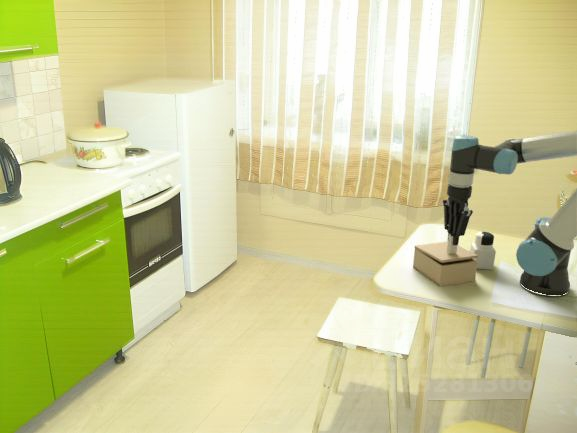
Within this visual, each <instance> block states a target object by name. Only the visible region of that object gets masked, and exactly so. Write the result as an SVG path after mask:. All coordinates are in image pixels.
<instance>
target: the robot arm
mask: <svg viewBox="0 0 577 433" xmlns="http://www.w3.org/2000/svg"><path fill="white" fill-rule="evenodd" d="M450 155H451V156H450V167H449V172H448V173H449V174H448V179H447V180H448V184H447V190H446V191H447V192H446V194H447V199H443V200H442V204H443V217H444V218H443V219H444V220H443V224H444V230H446V231H447V233H448V234H447V241H448V246H447V253H448V254H455V253H457V245H458V246H459V240H460V237H461V236H462V237H463V236H465V234H466V231H467V228H468V224H469V221H470V217H471V216H472V215H473V214H474V211H473V210H472V209H470V208H469V207H468V206H469V199H470V198H471V197H472V193H473V192H472V191H473V184H474V182H473V181H474V174H475V170H479V171H483V172H484V171H486V172H488V173H489V172H490V173H494V174H499V175H512V174H513V173H514V172H515V170H516V168H517V165H518V164H524V163H525V164H526V163H531V162H538V161H546V160H547V161H548V160H555V159H563V158H571V157H577V130H572V131H565V132H558V133H552V134H545V135H538V136H534V137H526V138H520V139H519V138H518V139H516V138H512V139H507V140H505V141H503V142H501V143H499V144H498V145H495V146H488V145H482V144H480V142H479V138H478V137H477V136H474V135H466V134H465V135H463V134H462V135H461V134H460V135H457V136H455V137H454V138H453V142H452V147H451V154H450ZM576 238H577V188H576V189H575V190H574V191H573V193H572V194H570V196H569V198H567V199H566V201H564V203H563V204H562V205H561V207H560V208H559V209H558V210H557V211H556V212H555V213H554V214H553V216H552V217H538V218H537V219H536V220H535V224H534V229H533V230H532V232H531V233H530V234H529V235H528V236H527V238H525V239H524V241H523V240H522V242H520V243H519V245H518V247H517V248H516V252H515V254H516V255H515V257H516V261H517V263H518V265H519V267H520V268H521V269H522V270H523V272H522V273H521V275H520V278H519V284H520V283H521V284H522V285H523V286H524V287H525V288H527V289H529V290H532V291H534V292H538V293H542V294H546V295H563V294H565V293H567V292H568V291H569V292H570V290H571V289H570V288H571V282H570V280H569V279H570V278H569V276H570V275H569V271H568V267H569V263H570V257H571V252H572V250H573V249H574V247H575V243H574V240H575V239H576Z"/></svg>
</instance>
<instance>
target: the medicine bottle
mask: <svg viewBox="0 0 577 433" xmlns="http://www.w3.org/2000/svg"><path fill="white" fill-rule="evenodd" d="M494 242H495V236H494V234H492V232H489V231H479V232H477V233H476V234H475V239H474V242H471V243H470V250H469V251H470V252H472V253H474V254H476V255H478V258H473V259H475V260H477V261H478V263H477V270H492V271H493V270H494V267H495V259H496V252H497V251H496V249H495V248H494Z"/></svg>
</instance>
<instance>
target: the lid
mask: <svg viewBox="0 0 577 433" xmlns="http://www.w3.org/2000/svg"><path fill="white" fill-rule="evenodd" d="M447 246H448V240H447V241H441V242H434V243H425V244H418V245H414V249H415V248H416V249H417V250H419V251H421V252H423V253H425V254H427V255H428V256H430V257H432V258H434V259H436V260H438V261H439V262H441V263H444V262H451V261H458V260H465V259H472V258H478V255H476V254H474V253H472V252H470V250H468V249H466V248H464V247H462V246H459V244H458V245H457V253H455V254H448V253H447Z"/></svg>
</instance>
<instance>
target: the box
mask: <svg viewBox="0 0 577 433" xmlns="http://www.w3.org/2000/svg"><path fill="white" fill-rule="evenodd" d="M477 263H478V261H477V260H475V259H473V258H472V259H465V260H458V261H451V262H444V263H441V262H439V261H438V260H436V259H434V258H432V257H430V256H428V255H427V254H425V253H423V252H421V251H419V250H417V249H416V248H415V247H414V254H413V263H412V267H413V268H414V269H415V270H417V271H418V272H419V273H420V274H421V275H424V276H425V277H426V278H427V279H429V280H430V281H431V282H433V283H434V284H435V285H437V286H438V287H444V286H449V285H450V286H451V285H455V284H461V283H468V282H475V281H476V277H477V270H478V269H477Z"/></svg>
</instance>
